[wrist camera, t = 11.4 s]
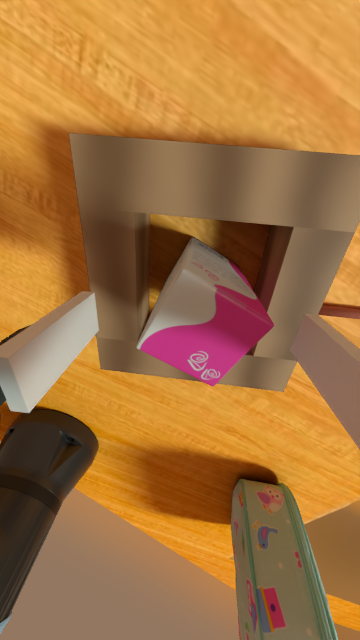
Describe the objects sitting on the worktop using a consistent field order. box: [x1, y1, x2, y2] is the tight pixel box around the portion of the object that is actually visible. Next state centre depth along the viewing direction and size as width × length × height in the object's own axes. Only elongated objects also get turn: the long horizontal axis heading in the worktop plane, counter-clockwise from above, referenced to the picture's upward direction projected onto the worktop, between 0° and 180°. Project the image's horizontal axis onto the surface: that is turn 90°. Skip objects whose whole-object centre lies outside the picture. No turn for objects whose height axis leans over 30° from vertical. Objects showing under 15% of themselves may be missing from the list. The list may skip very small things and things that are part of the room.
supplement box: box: [136, 237, 274, 386], centre depth 16 cm, size 6×6×12 cm
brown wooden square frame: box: [69, 133, 360, 392], centre depth 19 cm, size 19×19×5 cm
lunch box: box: [231, 479, 338, 640], centre depth 33 cm, size 27×10×21 cm, turn 5°
